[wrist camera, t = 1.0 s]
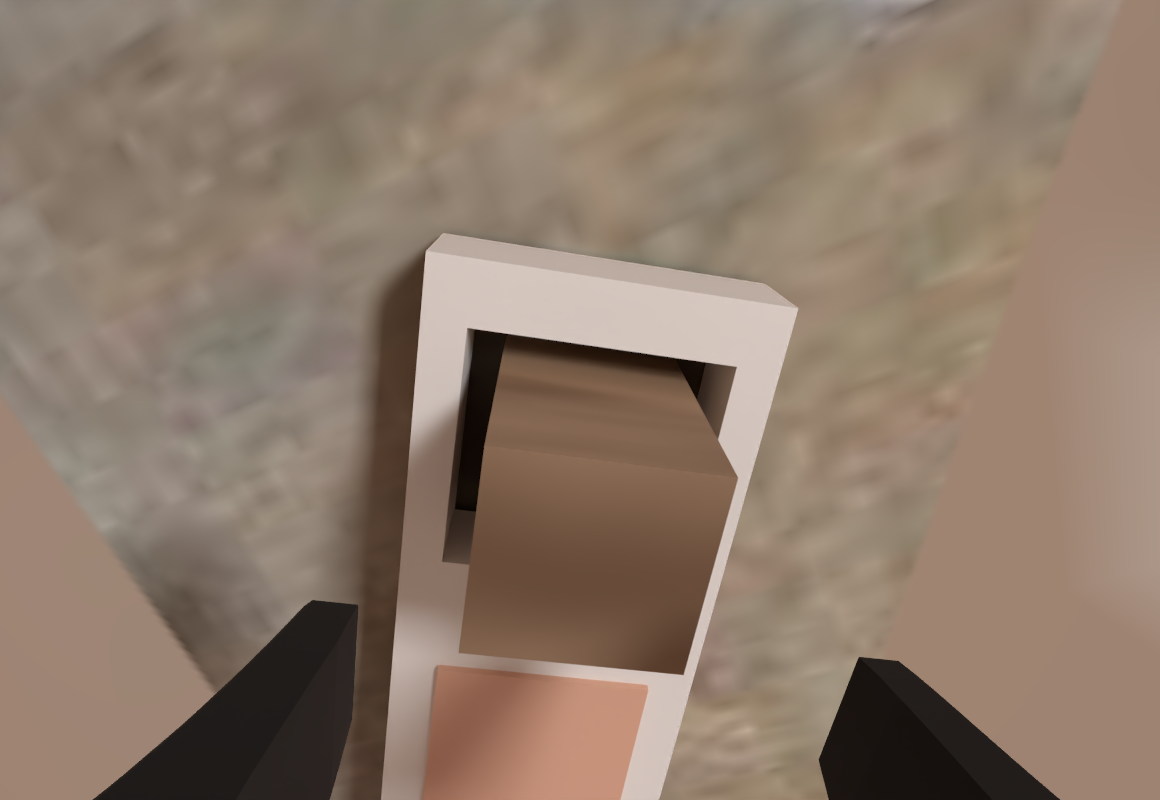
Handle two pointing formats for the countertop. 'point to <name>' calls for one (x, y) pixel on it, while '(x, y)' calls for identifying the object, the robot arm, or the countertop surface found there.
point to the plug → (594, 511)
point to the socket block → (444, 534)
